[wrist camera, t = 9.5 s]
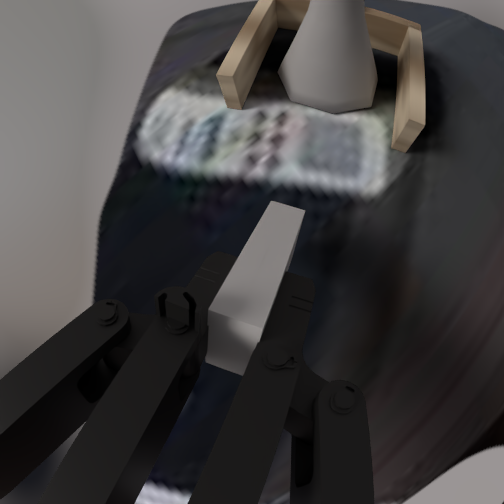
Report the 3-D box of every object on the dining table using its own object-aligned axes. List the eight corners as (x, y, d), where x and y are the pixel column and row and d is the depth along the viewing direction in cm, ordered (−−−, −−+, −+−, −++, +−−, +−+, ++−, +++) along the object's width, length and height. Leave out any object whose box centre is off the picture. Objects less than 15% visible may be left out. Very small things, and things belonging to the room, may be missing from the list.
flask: (276, 113, 18) (263, -15, 8) (278, 44, 19) (268, -62, 9) (384, 121, 17) (434, 9, 7) (369, 51, 18) (392, -49, 8)
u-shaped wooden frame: (269, 19, 20) (265, -18, 15) (409, 52, 18) (422, 17, 13) (227, 107, 18) (213, 65, 14) (405, 152, 16) (430, 117, 12)
